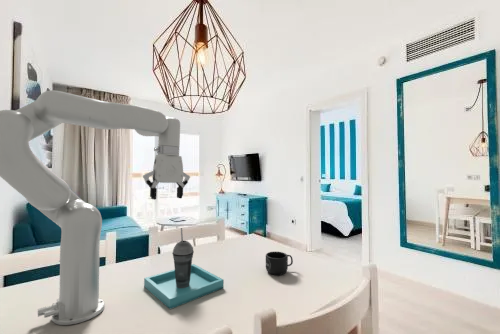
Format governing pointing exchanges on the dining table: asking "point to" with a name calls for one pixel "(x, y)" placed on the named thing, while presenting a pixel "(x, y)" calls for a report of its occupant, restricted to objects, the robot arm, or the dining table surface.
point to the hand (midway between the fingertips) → (166, 198)
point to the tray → (173, 296)
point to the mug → (277, 262)
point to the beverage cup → (182, 262)
